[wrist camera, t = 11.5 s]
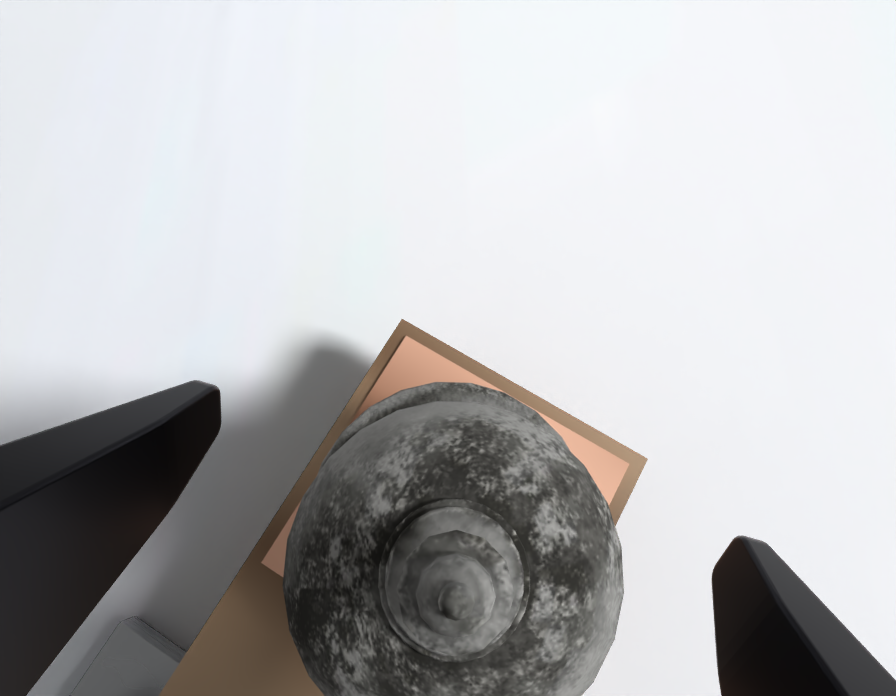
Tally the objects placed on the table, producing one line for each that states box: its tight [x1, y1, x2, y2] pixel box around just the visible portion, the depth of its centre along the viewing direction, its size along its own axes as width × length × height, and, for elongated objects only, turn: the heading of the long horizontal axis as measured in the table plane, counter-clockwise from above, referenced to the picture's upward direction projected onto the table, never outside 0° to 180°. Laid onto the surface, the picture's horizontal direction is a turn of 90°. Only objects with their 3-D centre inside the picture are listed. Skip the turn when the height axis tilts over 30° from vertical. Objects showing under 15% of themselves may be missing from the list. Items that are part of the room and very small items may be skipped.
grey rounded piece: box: [282, 382, 624, 696], centre depth 9 cm, size 6×6×12 cm
